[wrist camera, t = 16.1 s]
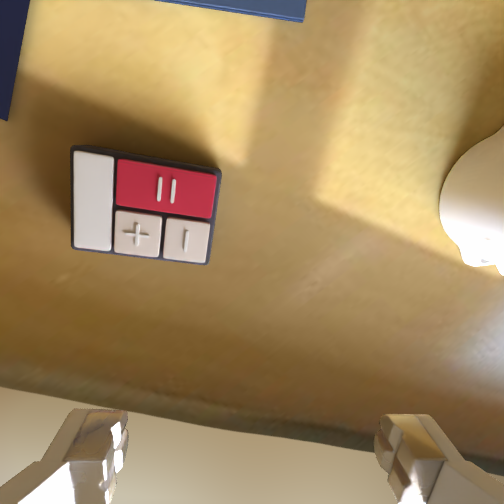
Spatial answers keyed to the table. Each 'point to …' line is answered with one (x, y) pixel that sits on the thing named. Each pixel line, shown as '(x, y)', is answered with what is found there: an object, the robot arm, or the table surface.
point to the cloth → (253, 7)
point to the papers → (10, 47)
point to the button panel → (142, 205)
